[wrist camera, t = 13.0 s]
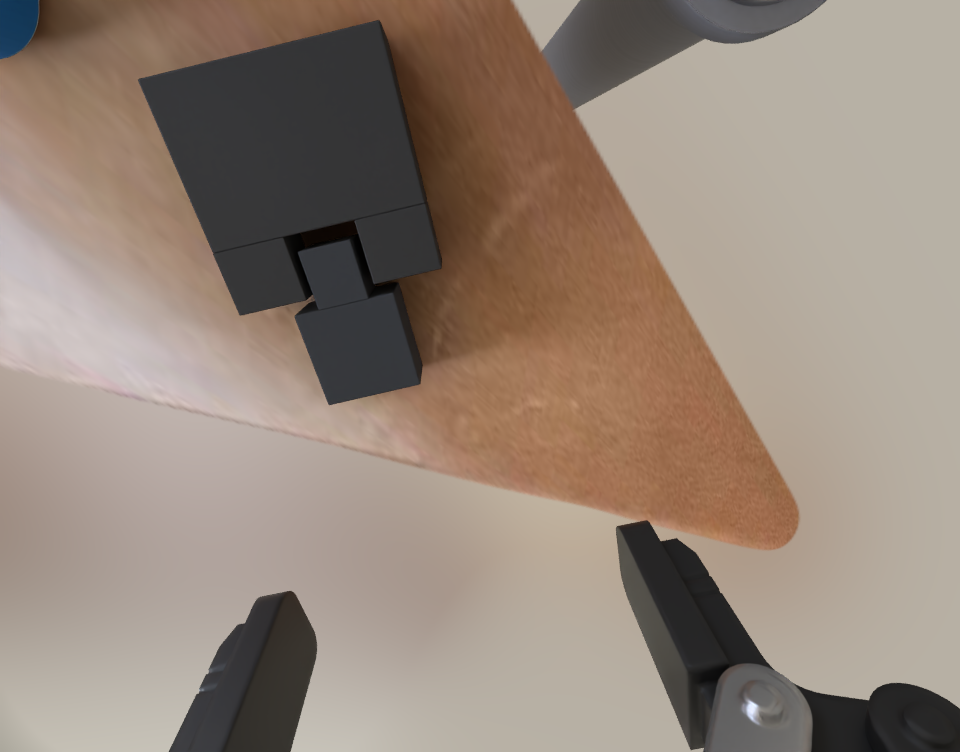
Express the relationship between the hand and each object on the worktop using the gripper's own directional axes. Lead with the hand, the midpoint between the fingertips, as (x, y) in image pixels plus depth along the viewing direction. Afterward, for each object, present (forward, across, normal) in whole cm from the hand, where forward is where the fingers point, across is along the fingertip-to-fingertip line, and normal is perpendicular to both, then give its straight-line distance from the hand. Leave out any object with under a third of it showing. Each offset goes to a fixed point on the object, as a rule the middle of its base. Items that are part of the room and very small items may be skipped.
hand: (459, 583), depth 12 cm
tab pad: (+22, +6, -2) cm, 23 cm away
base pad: (+22, +6, -10) cm, 25 cm away
